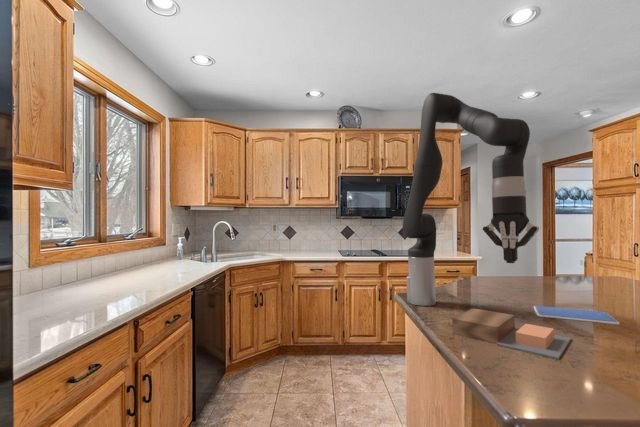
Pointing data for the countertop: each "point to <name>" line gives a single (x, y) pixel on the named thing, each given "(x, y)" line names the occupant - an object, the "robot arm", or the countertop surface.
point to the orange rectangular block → (535, 336)
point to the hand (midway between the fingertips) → (510, 262)
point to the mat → (552, 351)
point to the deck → (483, 325)
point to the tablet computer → (575, 314)
